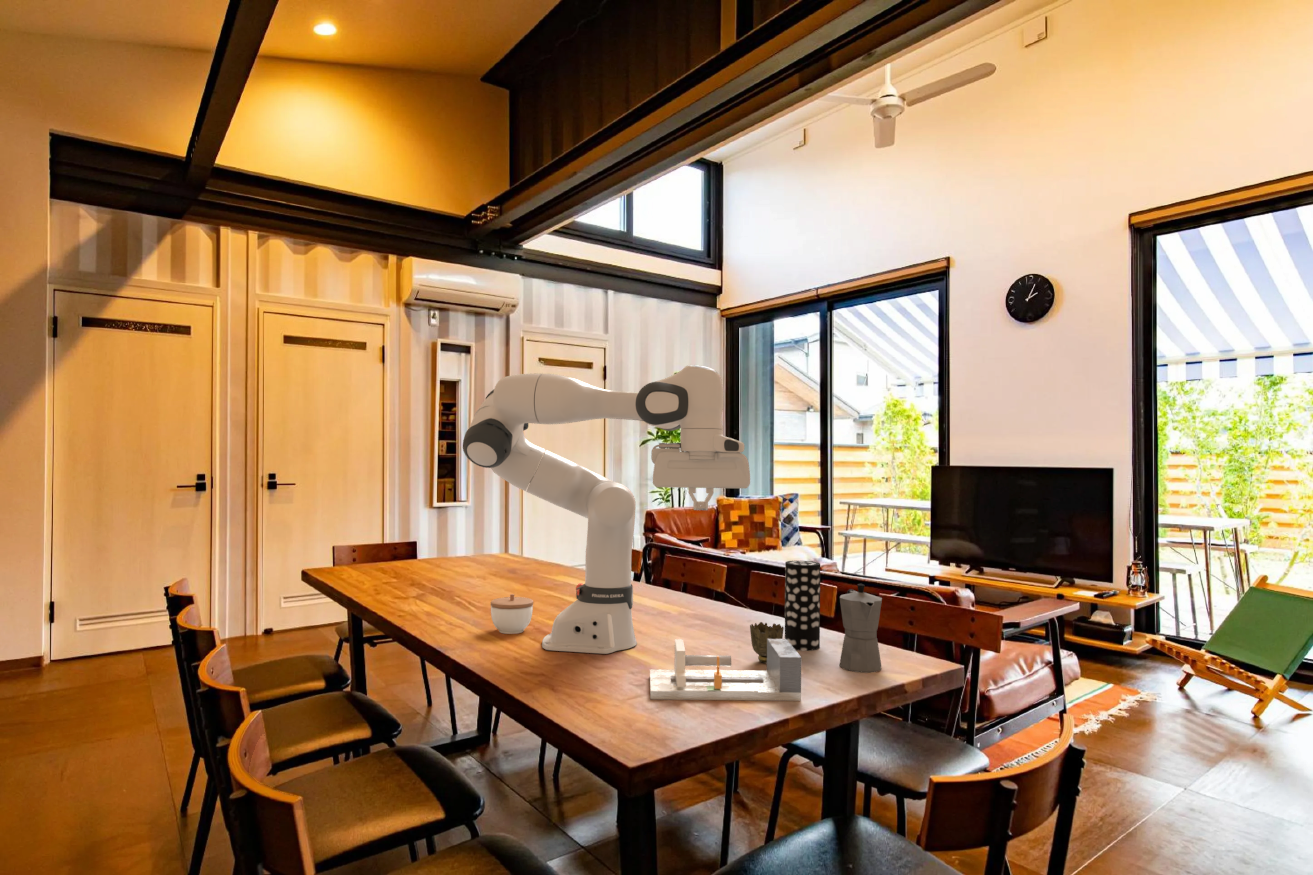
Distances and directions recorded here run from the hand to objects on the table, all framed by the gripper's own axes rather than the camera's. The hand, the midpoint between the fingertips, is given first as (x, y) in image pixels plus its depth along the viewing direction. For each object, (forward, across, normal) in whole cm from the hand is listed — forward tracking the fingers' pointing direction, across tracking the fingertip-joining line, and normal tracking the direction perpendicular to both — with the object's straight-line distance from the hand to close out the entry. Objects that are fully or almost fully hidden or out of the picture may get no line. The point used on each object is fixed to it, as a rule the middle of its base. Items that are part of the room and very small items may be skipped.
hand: (700, 510), depth 151 cm
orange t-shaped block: (+32, +2, -14) cm, 35 cm away
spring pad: (+32, 0, -9) cm, 33 cm away
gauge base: (+34, +4, -8) cm, 35 cm away
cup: (+34, +16, +11) cm, 39 cm away
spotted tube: (+34, +27, +25) cm, 50 cm away
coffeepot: (+34, +36, +9) cm, 51 cm away
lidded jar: (+34, -45, +37) cm, 68 cm away
